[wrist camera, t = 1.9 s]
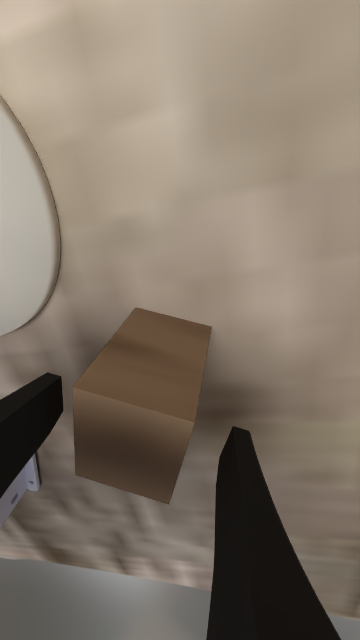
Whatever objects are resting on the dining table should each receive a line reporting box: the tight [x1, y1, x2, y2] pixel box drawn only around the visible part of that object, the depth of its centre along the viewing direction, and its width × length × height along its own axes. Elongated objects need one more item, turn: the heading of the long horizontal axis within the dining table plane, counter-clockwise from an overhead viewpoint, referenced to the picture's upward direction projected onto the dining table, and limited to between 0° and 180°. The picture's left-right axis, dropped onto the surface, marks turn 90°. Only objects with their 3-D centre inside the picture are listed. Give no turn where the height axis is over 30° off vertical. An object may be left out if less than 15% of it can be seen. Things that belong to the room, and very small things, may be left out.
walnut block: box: [72, 308, 212, 504], centre depth 12 cm, size 5×4×6 cm
